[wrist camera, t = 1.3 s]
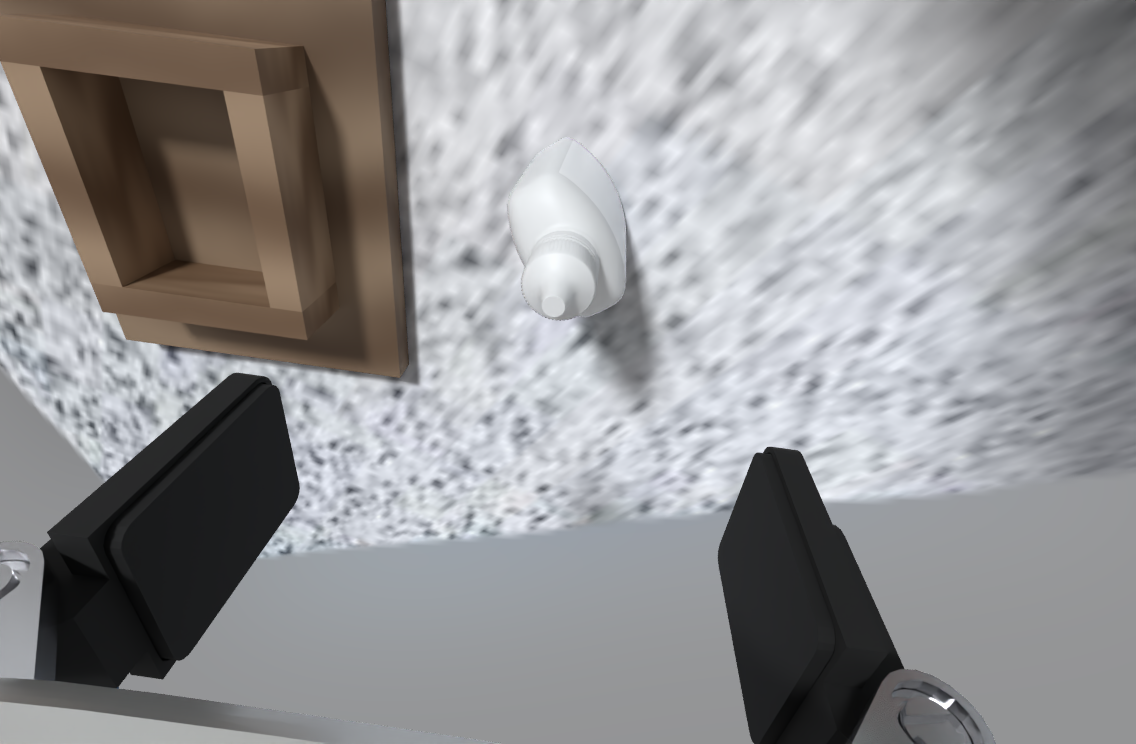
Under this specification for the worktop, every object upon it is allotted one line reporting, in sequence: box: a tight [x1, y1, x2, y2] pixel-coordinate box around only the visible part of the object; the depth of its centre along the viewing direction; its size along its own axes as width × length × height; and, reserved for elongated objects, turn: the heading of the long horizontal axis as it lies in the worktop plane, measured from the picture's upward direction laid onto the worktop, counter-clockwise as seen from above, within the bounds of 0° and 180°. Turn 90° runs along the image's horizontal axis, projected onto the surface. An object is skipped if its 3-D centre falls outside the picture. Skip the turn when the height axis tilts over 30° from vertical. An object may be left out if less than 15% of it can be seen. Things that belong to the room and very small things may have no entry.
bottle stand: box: [0, 0, 409, 378], centre depth 25 cm, size 20×16×5 cm
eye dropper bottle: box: [507, 137, 626, 321], centre depth 21 cm, size 4×6×12 cm
